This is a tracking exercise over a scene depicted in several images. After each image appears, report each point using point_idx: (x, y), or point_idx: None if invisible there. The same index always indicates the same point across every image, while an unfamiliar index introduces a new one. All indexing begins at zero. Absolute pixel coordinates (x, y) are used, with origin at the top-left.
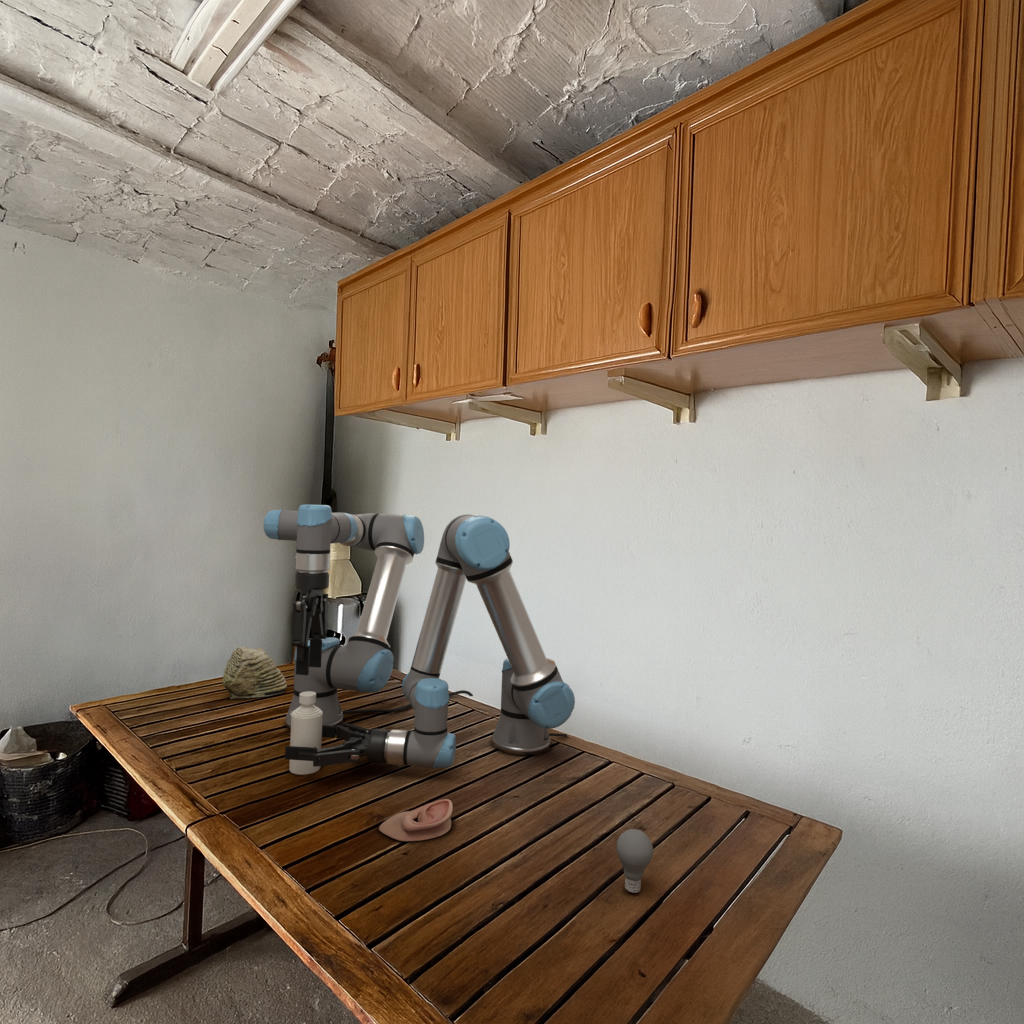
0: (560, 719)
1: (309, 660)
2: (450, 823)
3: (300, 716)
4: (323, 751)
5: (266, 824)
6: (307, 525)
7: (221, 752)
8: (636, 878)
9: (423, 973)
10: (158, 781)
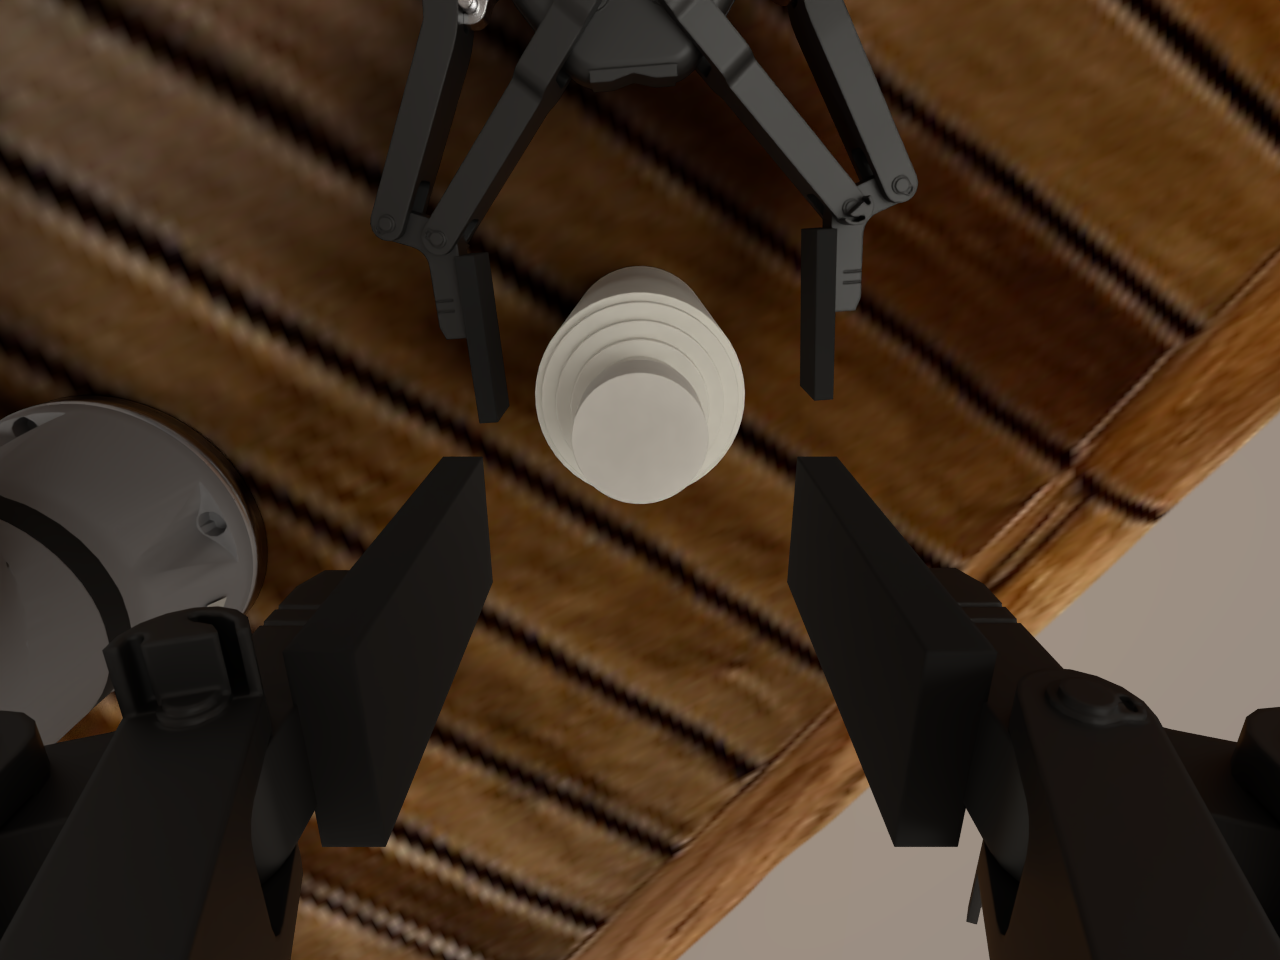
0: None
1: (474, 618)
2: None
3: (736, 405)
4: (838, 166)
5: (1160, 253)
6: None
7: (575, 718)
8: None
9: None
10: (846, 771)
